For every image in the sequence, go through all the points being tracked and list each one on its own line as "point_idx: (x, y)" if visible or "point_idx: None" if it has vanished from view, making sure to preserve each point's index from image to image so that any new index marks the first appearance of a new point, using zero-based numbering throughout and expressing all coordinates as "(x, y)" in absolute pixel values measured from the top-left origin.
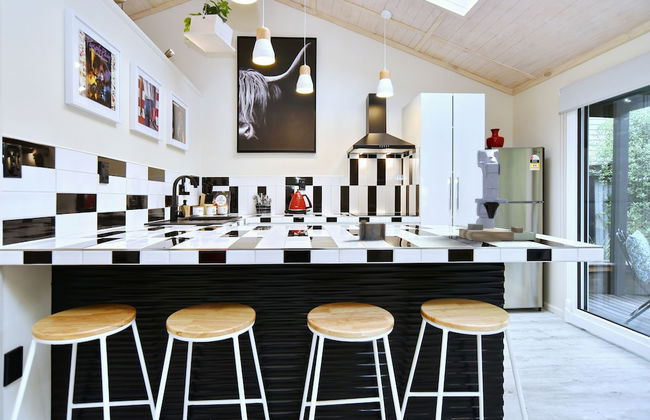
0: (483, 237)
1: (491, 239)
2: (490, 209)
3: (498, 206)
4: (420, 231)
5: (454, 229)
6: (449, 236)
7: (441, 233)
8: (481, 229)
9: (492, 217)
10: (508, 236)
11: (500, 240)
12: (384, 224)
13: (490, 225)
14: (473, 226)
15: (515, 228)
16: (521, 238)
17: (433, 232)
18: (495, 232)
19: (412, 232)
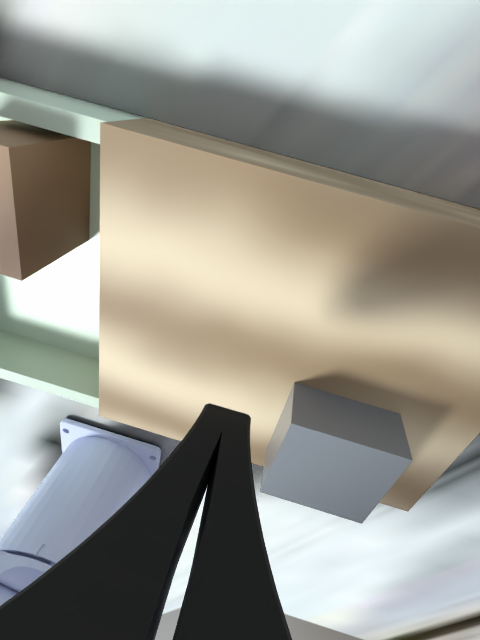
0: (468, 212)
1: (373, 183)
2: (258, 573)
3: (17, 594)
4: (386, 633)
5: None
6: (439, 485)
7: (348, 566)
8: (311, 390)
9: (224, 418)
10: (186, 135)
11: (278, 155)
12: None
13: (75, 491)
14: (399, 440)
15: (20, 190)
16: (56, 96)
17: (354, 597)
18: (336, 186)
19: (473, 635)
